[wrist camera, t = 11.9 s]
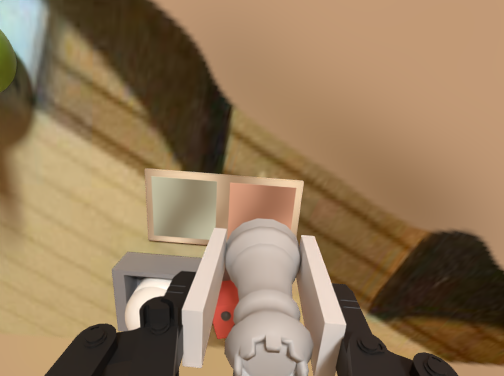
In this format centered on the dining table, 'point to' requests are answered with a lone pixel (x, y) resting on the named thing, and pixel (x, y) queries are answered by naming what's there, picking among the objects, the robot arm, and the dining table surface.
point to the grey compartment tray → (166, 266)
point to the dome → (144, 298)
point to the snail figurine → (6, 62)
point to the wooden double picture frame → (215, 203)
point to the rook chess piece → (266, 302)
